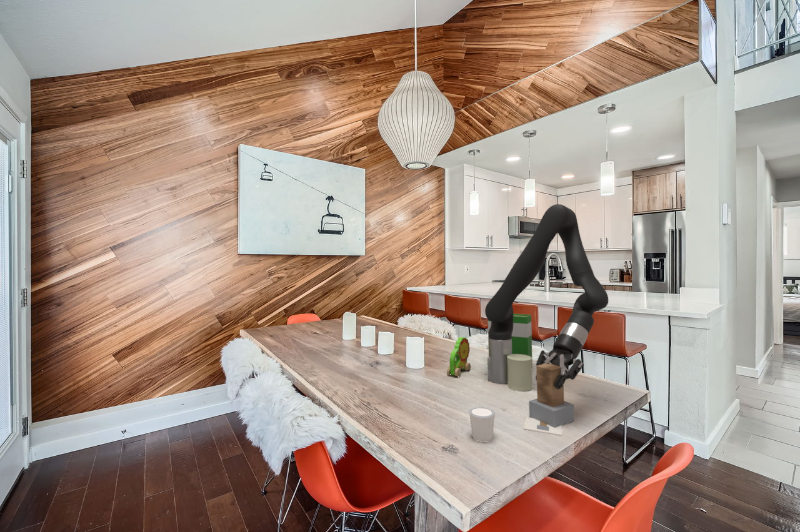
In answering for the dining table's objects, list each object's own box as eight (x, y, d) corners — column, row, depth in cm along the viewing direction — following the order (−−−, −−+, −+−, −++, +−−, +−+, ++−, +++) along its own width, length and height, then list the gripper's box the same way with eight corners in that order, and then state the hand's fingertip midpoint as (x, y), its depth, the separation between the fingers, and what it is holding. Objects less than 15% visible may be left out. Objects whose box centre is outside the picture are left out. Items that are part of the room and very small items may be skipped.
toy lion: (457, 378, 147) (456, 342, 146) (446, 376, 150) (445, 340, 150) (473, 368, 159) (472, 335, 159) (462, 367, 163) (461, 334, 162)
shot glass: (466, 431, 101) (466, 407, 101) (490, 430, 101) (489, 406, 101) (473, 444, 94) (473, 418, 94) (498, 442, 95) (498, 416, 95)
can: (514, 381, 142) (514, 351, 142) (536, 386, 135) (536, 355, 135) (502, 387, 135) (502, 356, 135) (525, 393, 129) (525, 360, 129)
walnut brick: (537, 401, 109) (536, 365, 109) (548, 397, 111) (547, 362, 111) (552, 407, 104) (551, 370, 104) (564, 402, 107) (562, 366, 107)
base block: (529, 416, 109) (529, 400, 109) (548, 410, 114) (548, 394, 114) (554, 428, 102) (554, 411, 101) (574, 420, 106) (573, 404, 106)
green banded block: (488, 366, 163) (487, 314, 163) (494, 362, 169) (493, 312, 169) (528, 372, 153) (527, 317, 153) (532, 367, 159) (531, 314, 159)
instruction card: (523, 429, 102) (523, 428, 102) (526, 417, 109) (526, 417, 109) (561, 435, 97) (561, 434, 97) (562, 423, 105) (562, 422, 105)
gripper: (545, 329, 117) (521, 371, 112) (587, 336, 105) (562, 384, 99) (556, 343, 120) (533, 384, 114) (598, 352, 108) (574, 399, 102)
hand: (547, 384), depth 107 cm, fingers open, 6 cm apart
